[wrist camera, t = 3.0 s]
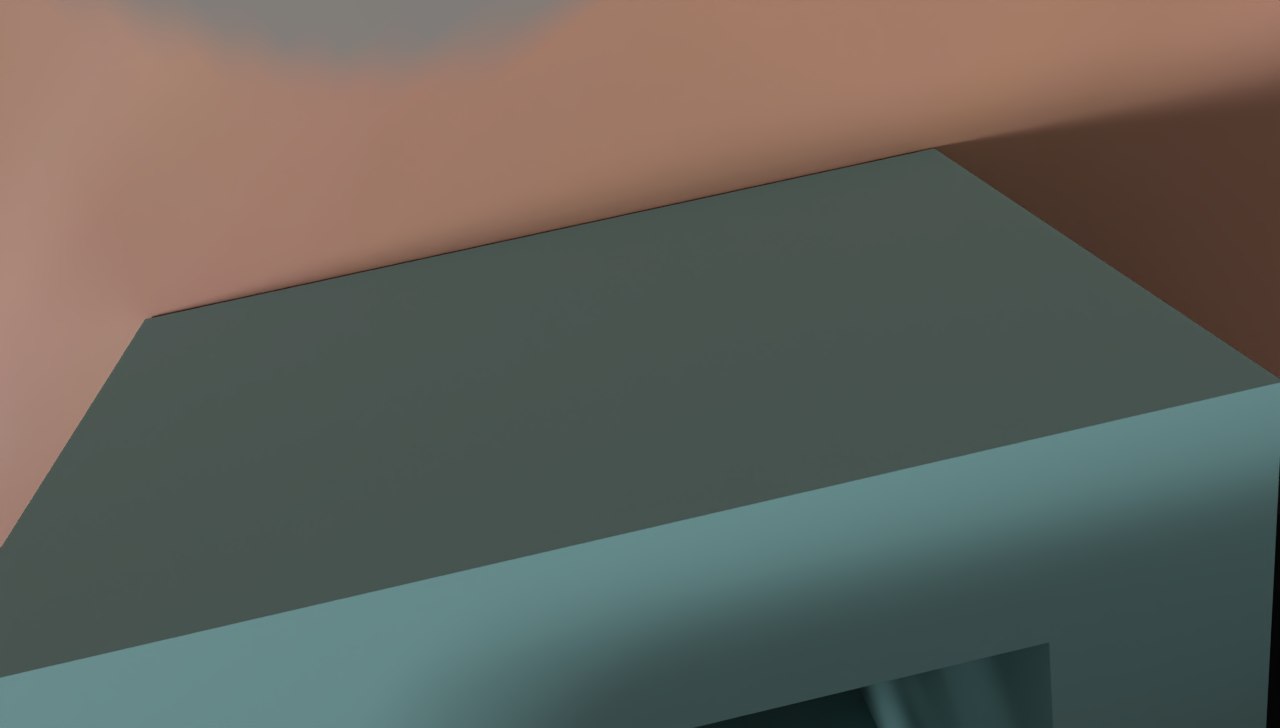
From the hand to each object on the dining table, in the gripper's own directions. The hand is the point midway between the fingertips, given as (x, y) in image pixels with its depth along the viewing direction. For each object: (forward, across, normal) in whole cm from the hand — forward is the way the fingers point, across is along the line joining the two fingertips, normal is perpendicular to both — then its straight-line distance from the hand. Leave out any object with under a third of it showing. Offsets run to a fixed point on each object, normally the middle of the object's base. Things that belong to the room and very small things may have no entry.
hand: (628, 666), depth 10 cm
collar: (+2, 0, 0) cm, 2 cm away
